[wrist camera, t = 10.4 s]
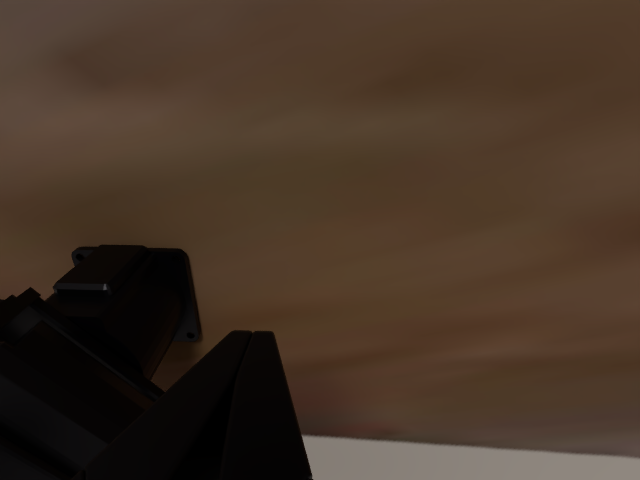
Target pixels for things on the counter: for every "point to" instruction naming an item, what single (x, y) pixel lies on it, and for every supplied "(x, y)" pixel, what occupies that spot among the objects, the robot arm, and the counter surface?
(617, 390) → the counter surface
